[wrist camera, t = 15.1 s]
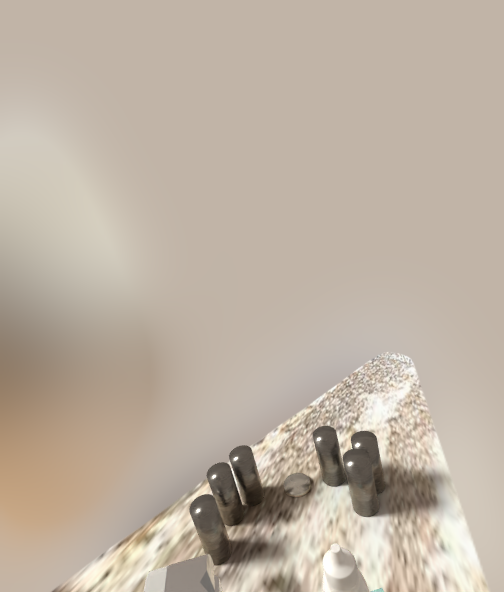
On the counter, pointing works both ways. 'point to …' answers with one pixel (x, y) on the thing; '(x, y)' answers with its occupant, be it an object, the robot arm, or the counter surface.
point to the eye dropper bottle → (342, 572)
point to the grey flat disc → (297, 485)
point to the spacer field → (227, 503)
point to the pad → (378, 590)
